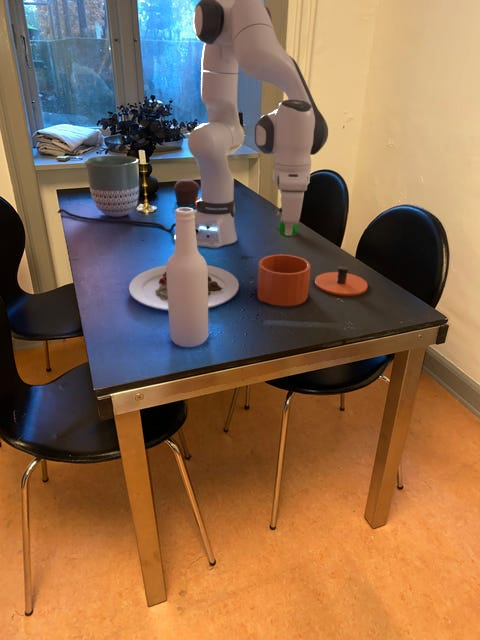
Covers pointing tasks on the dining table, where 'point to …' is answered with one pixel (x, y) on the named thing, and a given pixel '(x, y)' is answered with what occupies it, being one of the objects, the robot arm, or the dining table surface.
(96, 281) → the dining table surface
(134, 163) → the planter
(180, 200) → the muffin
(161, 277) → the plated food
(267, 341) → the dining table surface
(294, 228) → the polyhedron
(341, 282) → the lid
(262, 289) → the pot
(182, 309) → the alcohol
